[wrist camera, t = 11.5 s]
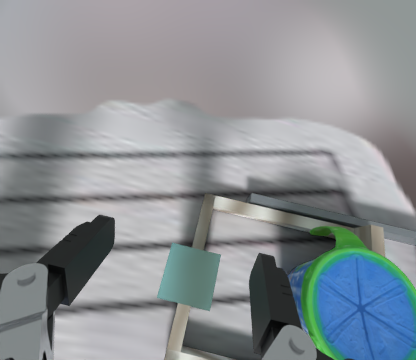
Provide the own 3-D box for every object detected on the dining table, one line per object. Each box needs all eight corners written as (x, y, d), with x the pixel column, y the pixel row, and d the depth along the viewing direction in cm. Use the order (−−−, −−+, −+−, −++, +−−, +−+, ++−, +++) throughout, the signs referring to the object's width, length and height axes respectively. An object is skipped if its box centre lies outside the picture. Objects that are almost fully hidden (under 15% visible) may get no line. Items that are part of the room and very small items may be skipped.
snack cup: (273, 226, 31) (307, 211, 21) (346, 240, 31) (414, 230, 21) (265, 360, 25) (307, 418, 16) (355, 376, 25) (451, 446, 16)
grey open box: (156, 355, 25) (109, 469, 11) (197, 195, 32) (199, 145, 18) (357, 408, 24) (569, 599, 10) (354, 232, 31) (479, 210, 17)
